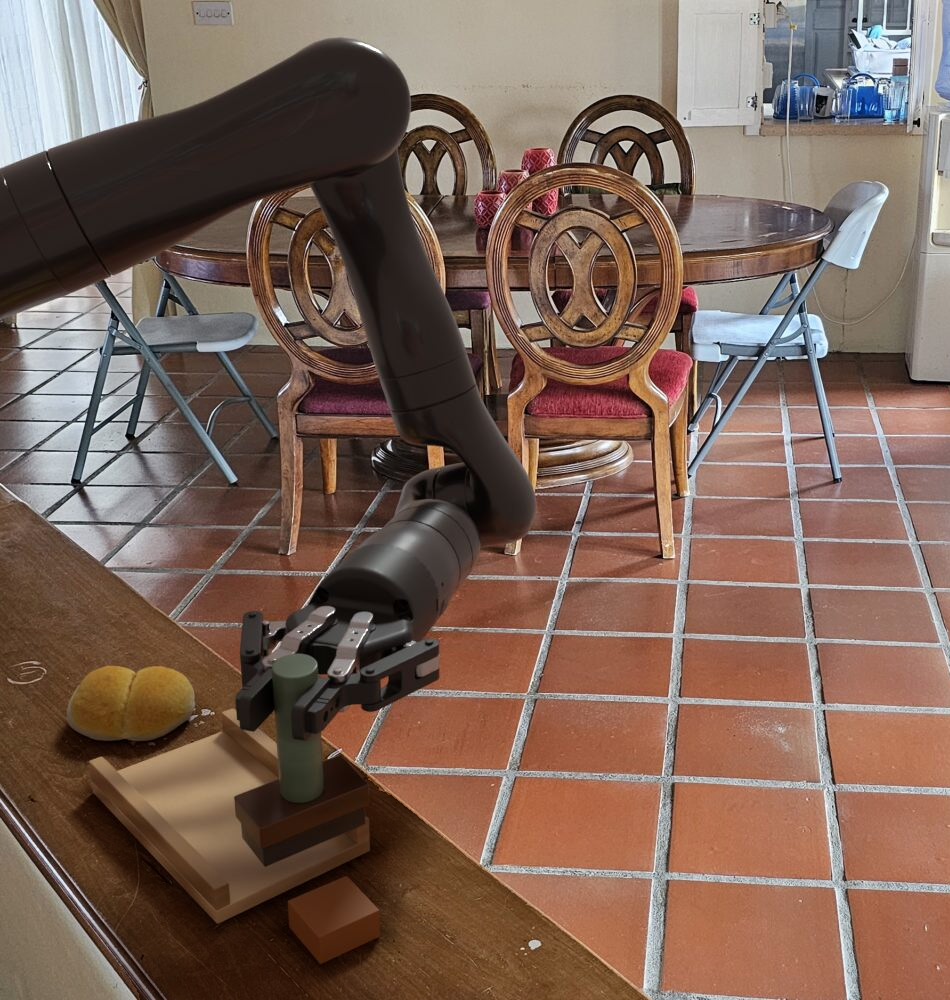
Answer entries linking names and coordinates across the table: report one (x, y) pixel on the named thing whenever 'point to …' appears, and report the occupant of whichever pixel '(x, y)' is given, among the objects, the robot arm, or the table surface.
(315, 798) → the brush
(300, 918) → the brown block
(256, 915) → the table surface
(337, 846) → the tray
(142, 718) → the bread roll
